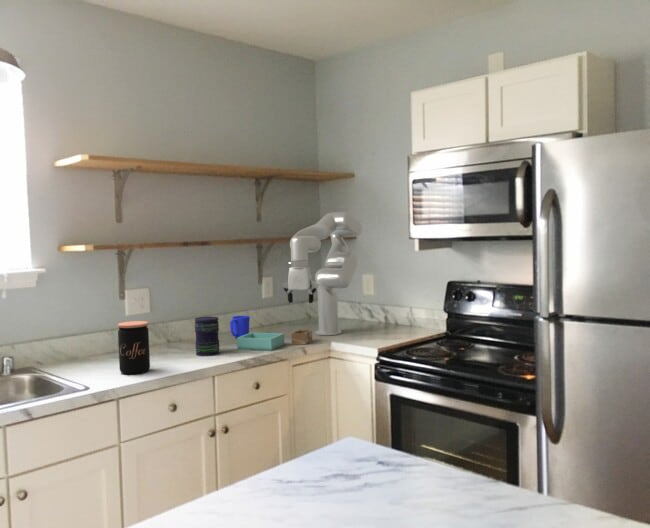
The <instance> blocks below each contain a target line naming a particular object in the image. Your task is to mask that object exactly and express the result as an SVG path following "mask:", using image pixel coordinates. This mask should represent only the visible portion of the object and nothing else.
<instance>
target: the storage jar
mask: <svg viewBox="0 0 650 528" xmlns="http://www.w3.org/2000/svg"><path fill="white" fill-rule="evenodd" d="M219 327H220V324H219V317H217V316H202V317H201V316H199V317H195V318H194V332H195V351H196V352H195V356H197V357H211V356H212V357H213V356H217V355H220V354H221V353H220V346H221V345H220V340H219V332H220V331H219V330H220V328H219Z"/></svg>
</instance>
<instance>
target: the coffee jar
mask: <svg viewBox="0 0 650 528" xmlns="http://www.w3.org/2000/svg"><path fill="white" fill-rule="evenodd" d="M148 325H149V322H148V321H146V320H145V321H144V320H132V321H124V322H120V323H117V327H118V331H117V338H118V339H117V340H118V361H119V362H118V363H119V371H120V372H121V374H122V375H127V376H131V375H133V376H134V375H141V374H145V373H148V372H149V370H150V369H151V360H150V359H151V358H150V356H151V355H150V354H151V353H150V337H149V327H148Z"/></svg>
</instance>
